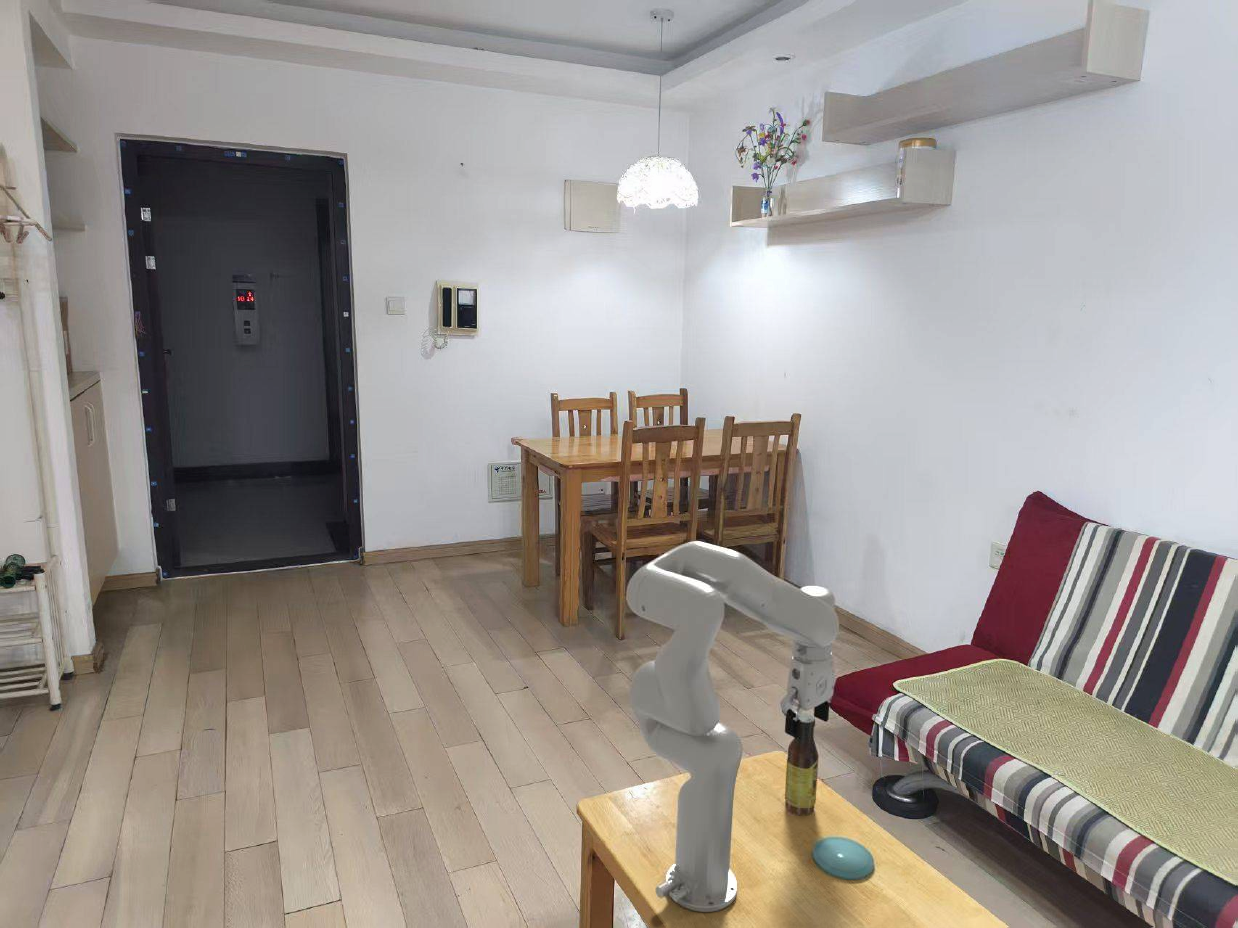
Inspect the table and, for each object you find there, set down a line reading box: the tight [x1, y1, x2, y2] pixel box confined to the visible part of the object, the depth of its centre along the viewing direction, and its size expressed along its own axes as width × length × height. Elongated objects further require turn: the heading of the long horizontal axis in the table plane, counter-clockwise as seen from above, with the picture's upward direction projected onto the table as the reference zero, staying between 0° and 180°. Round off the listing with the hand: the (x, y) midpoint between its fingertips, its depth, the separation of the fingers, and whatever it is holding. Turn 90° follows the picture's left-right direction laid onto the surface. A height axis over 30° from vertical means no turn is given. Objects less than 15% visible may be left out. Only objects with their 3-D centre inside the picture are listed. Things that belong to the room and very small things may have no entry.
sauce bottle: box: [784, 713, 819, 816], centre depth 165 cm, size 6×6×20 cm
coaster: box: [812, 836, 875, 881], centre depth 151 cm, size 11×11×1 cm
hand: (806, 726), depth 164 cm, fingers open, 9 cm apart
